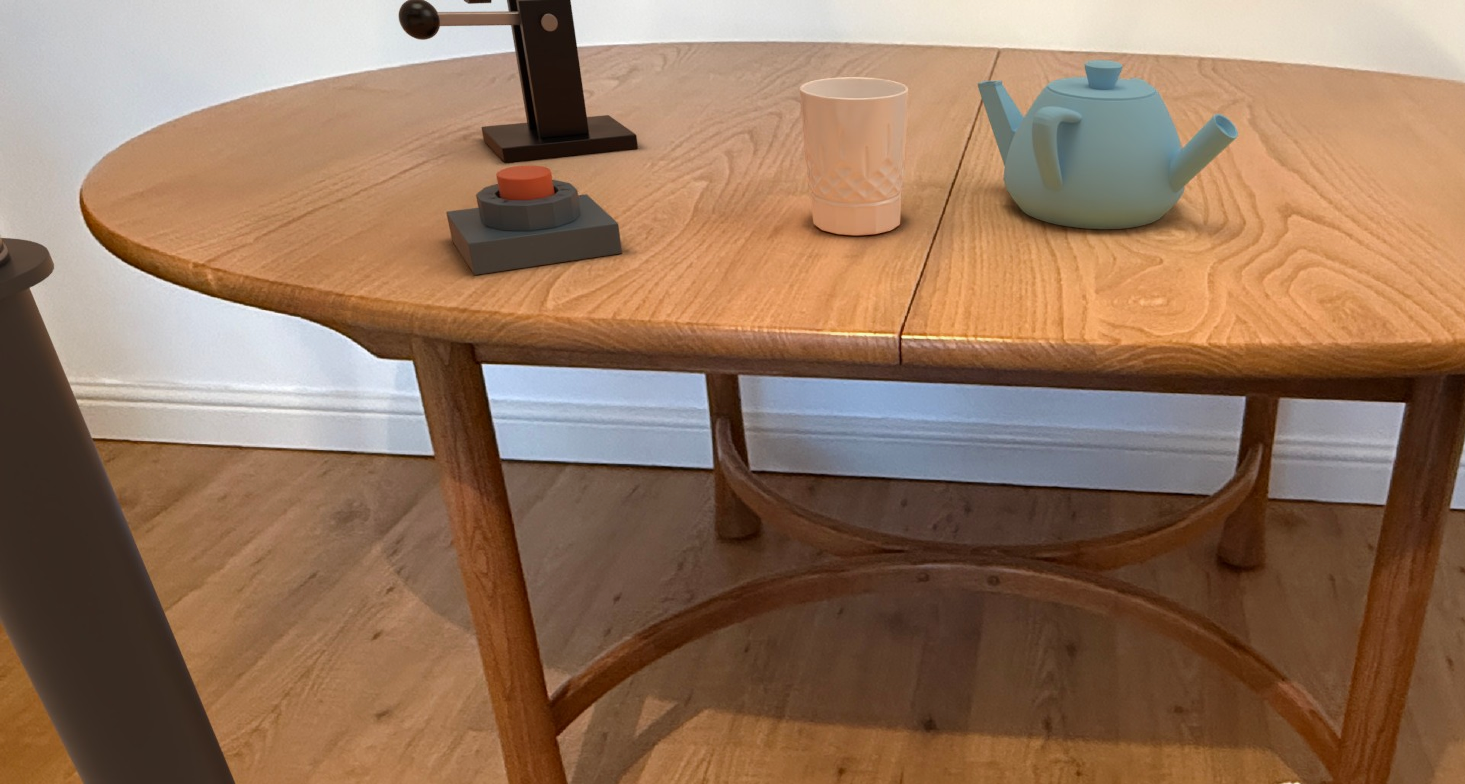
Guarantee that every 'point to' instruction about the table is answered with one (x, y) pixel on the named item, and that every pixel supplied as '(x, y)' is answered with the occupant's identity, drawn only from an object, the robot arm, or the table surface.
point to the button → (525, 183)
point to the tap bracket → (552, 92)
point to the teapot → (1098, 149)
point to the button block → (532, 230)
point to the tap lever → (446, 19)
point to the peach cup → (855, 152)
